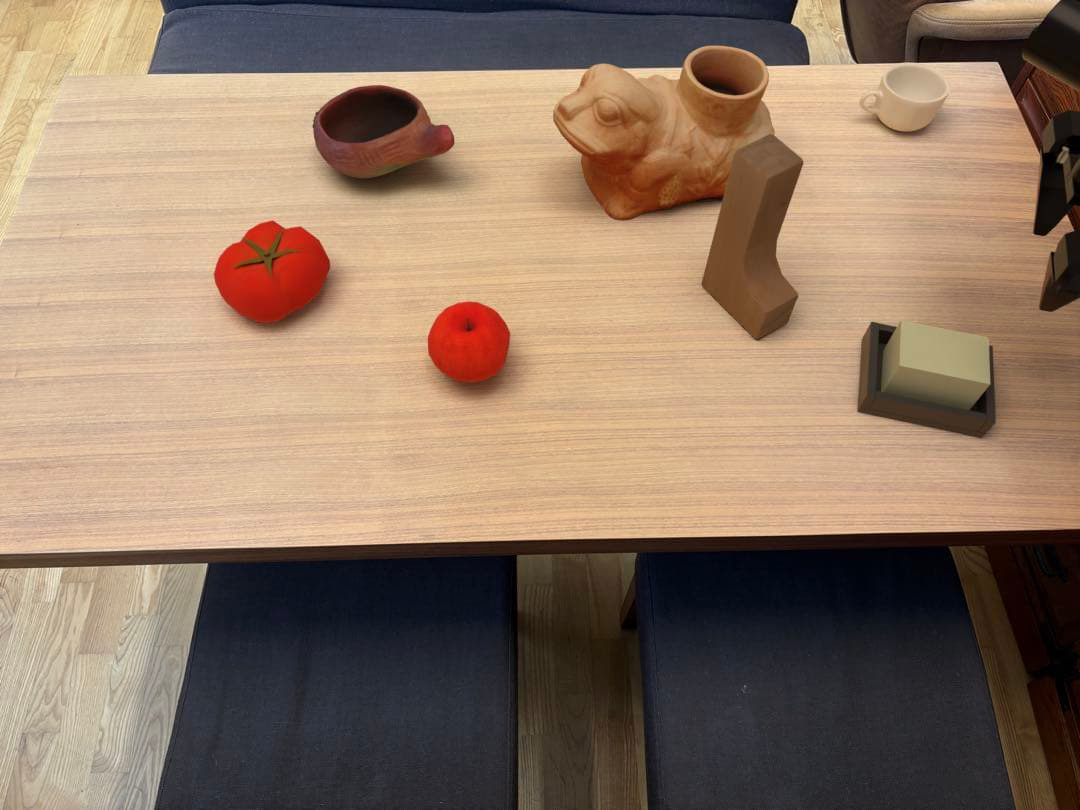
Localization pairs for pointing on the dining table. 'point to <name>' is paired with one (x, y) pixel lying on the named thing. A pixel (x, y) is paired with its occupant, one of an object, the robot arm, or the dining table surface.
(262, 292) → the tomato
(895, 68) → the teacup
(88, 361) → the dining table surface
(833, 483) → the dining table surface
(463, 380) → the apple
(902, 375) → the olive green block
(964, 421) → the mount
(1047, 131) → the robot arm
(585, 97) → the ceramic vessel
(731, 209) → the wooden block
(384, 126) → the bowl
